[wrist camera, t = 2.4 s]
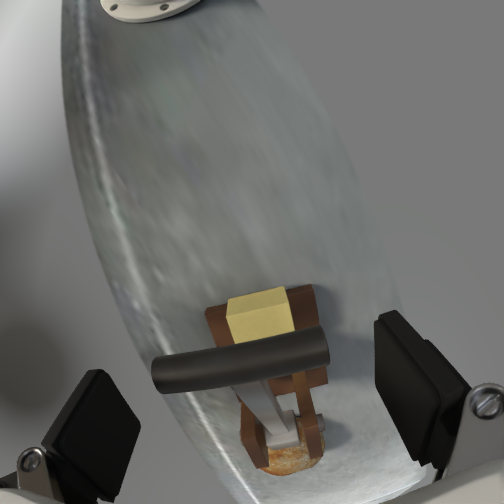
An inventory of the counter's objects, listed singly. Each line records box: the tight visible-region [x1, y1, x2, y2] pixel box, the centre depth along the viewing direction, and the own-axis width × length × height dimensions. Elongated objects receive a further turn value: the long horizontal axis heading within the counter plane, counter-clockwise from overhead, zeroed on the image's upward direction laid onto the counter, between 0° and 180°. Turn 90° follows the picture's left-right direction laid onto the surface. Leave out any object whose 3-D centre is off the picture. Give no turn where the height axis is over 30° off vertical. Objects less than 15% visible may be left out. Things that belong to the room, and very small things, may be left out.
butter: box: [226, 286, 295, 344], centre depth 24 cm, size 4×5×3 cm
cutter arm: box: [151, 325, 330, 450], centre depth 14 cm, size 15×6×2 cm, turn 14°
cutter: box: [205, 284, 328, 469], centre depth 22 cm, size 12×10×13 cm
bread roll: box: [260, 417, 325, 476], centre depth 30 cm, size 10×10×8 cm
